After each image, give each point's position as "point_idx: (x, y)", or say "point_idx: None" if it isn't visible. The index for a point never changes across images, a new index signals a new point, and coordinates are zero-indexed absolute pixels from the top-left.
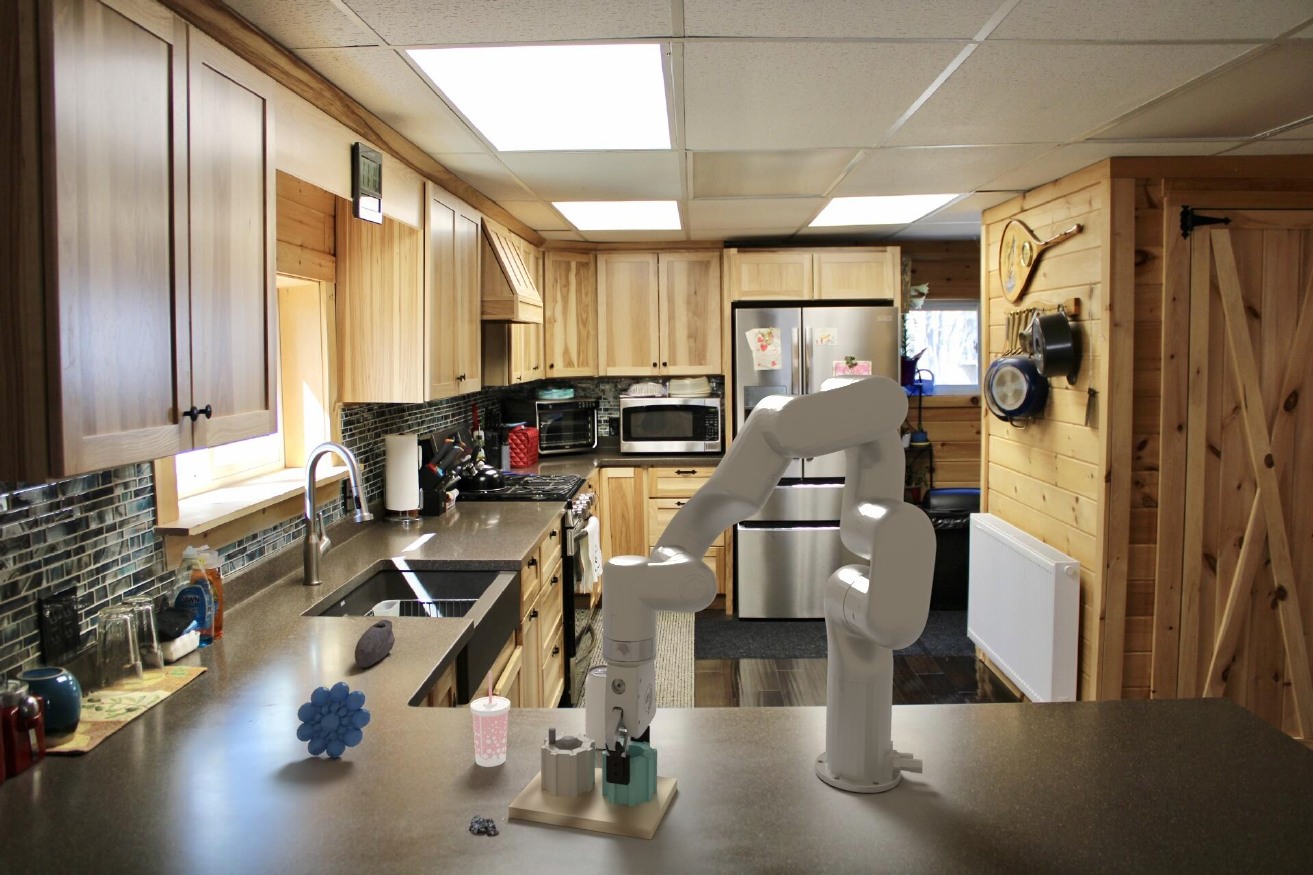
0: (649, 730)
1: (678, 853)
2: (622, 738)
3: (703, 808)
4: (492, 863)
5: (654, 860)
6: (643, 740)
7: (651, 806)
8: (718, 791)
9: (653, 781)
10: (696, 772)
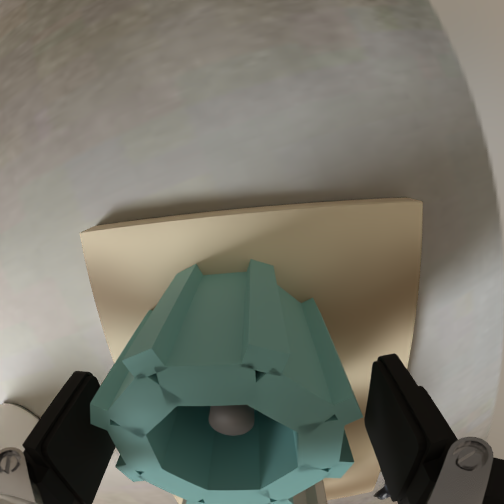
0: (38, 432)
1: (437, 108)
2: (11, 412)
3: (174, 101)
4: (488, 417)
5: (476, 162)
6: (79, 422)
7: (295, 247)
8: (66, 105)
9: (195, 290)
10: (6, 210)
